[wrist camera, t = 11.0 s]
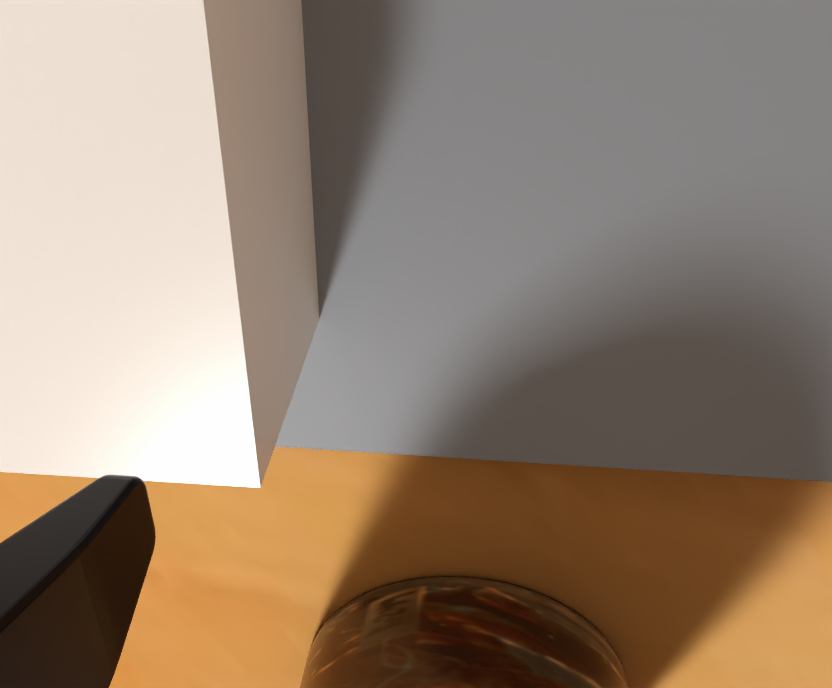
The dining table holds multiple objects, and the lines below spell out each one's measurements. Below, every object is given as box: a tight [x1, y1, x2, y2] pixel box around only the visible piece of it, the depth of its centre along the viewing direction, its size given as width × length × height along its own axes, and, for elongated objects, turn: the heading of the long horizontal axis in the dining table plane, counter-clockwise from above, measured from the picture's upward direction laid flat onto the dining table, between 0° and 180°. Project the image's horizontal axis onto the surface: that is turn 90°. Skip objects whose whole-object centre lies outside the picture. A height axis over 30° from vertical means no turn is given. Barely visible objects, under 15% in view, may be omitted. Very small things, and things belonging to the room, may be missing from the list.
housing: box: [0, 0, 319, 488], centre depth 14 cm, size 5×10×6 cm, turn 179°
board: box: [275, 0, 832, 482], centre depth 17 cm, size 21×18×2 cm
